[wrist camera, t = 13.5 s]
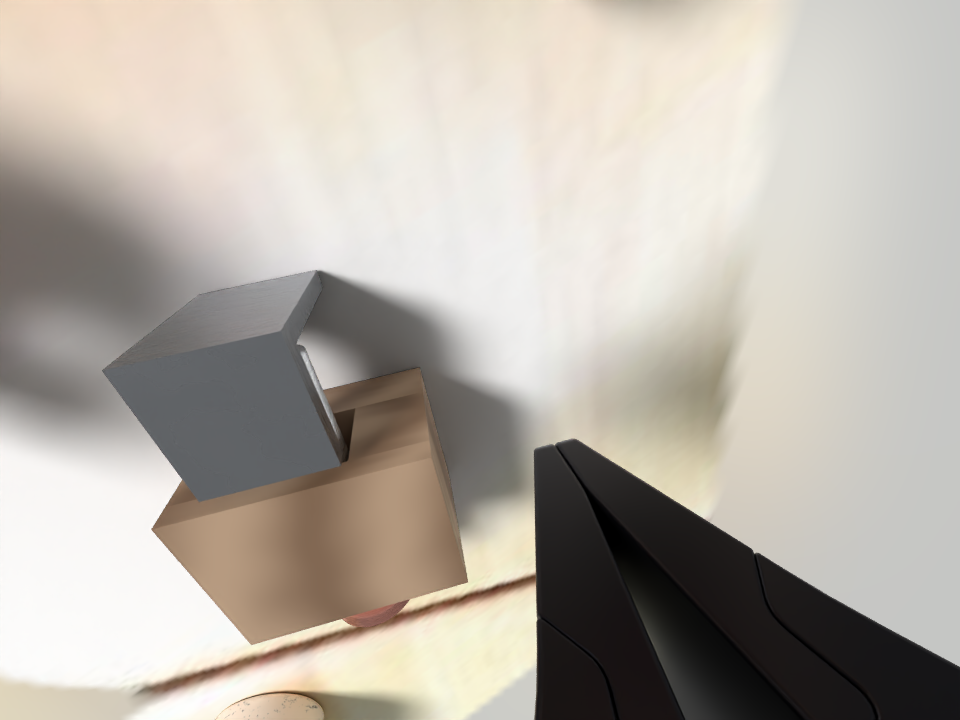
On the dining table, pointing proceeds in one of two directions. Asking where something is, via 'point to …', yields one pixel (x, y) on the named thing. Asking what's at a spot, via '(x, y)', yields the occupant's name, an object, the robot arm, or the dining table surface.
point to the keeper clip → (232, 388)
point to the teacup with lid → (274, 708)
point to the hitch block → (331, 522)
